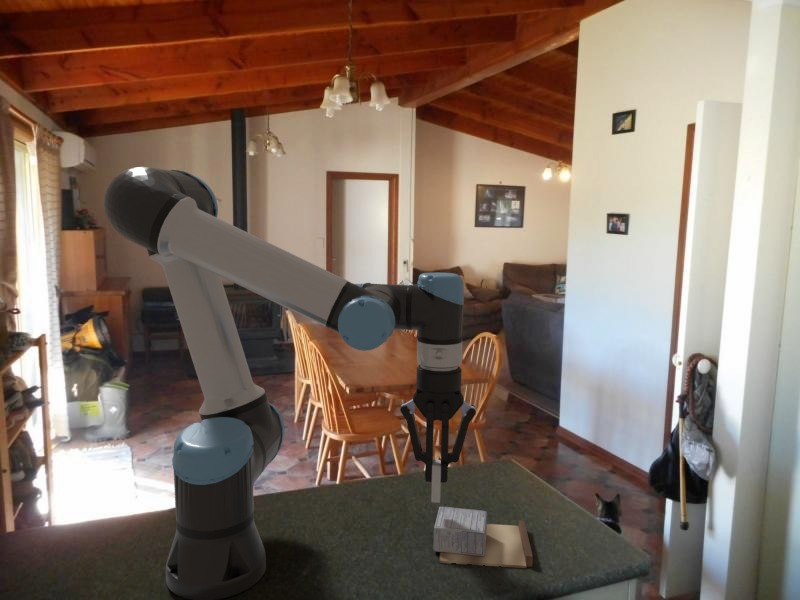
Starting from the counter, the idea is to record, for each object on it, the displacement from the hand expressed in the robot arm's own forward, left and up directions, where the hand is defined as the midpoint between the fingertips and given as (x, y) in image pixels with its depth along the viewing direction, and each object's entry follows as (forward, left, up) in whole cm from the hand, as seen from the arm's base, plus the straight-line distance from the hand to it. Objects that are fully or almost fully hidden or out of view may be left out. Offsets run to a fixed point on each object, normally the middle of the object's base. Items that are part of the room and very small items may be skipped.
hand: (435, 498), depth 107 cm
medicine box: (0, 0, -5) cm, 5 cm away
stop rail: (+15, 0, -8) cm, 17 cm away
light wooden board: (+8, 0, -8) cm, 11 cm away
